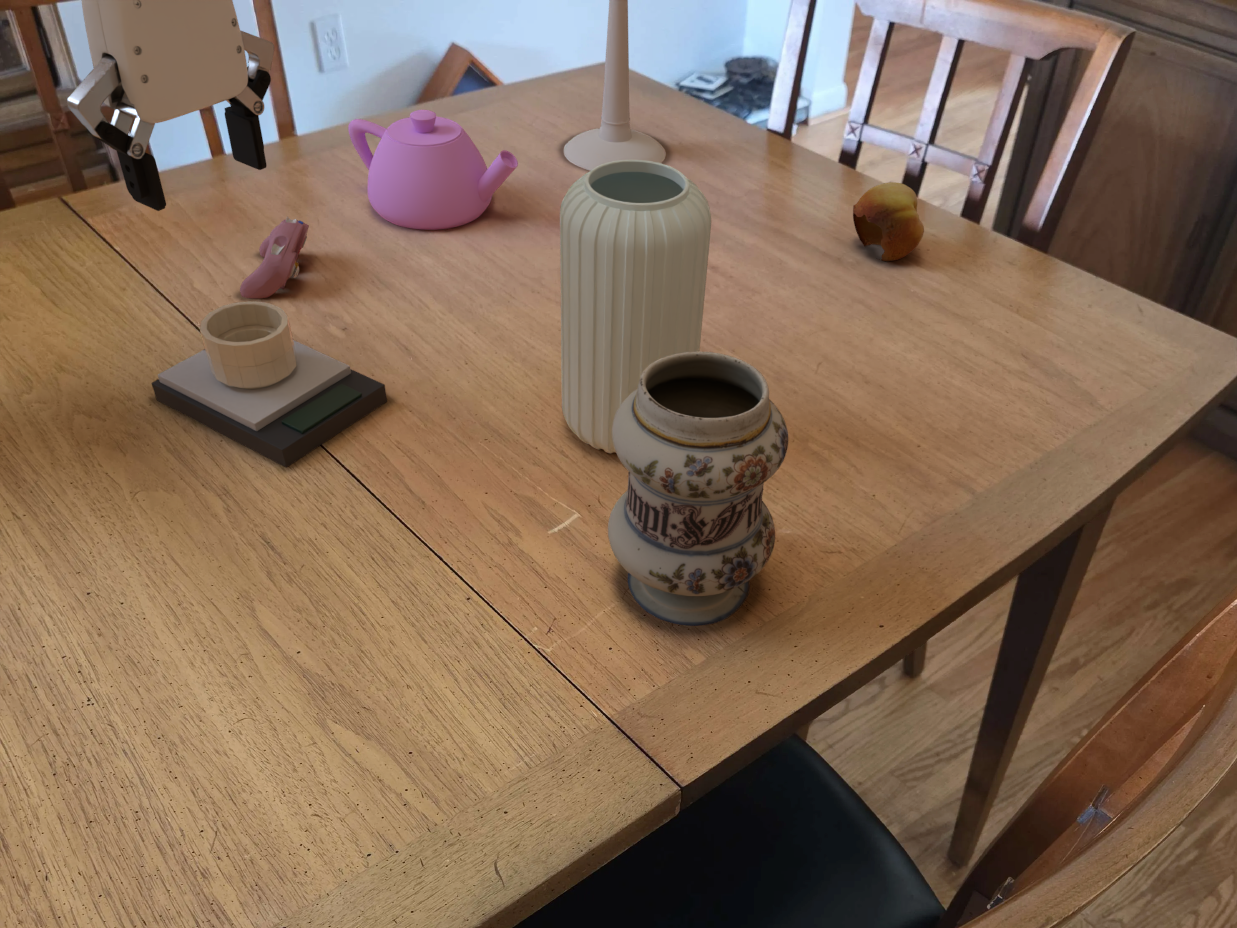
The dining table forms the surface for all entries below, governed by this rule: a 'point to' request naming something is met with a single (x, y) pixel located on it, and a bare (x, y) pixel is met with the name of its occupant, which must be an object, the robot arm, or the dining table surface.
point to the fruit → (889, 219)
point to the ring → (249, 344)
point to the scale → (274, 403)
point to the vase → (627, 284)
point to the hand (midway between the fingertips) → (201, 183)
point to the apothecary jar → (695, 485)
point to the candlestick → (614, 107)
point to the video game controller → (276, 260)
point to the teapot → (428, 171)
